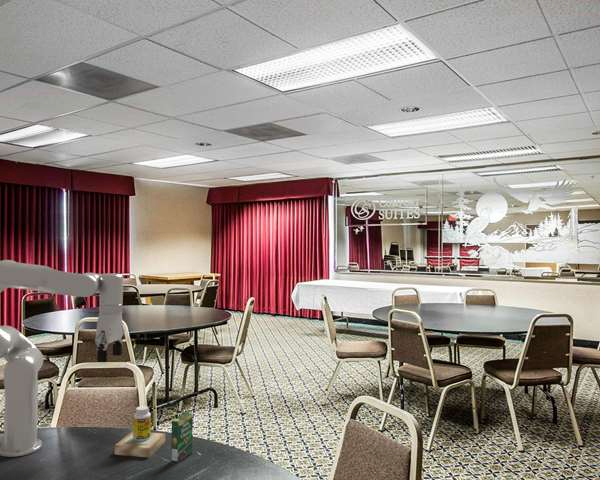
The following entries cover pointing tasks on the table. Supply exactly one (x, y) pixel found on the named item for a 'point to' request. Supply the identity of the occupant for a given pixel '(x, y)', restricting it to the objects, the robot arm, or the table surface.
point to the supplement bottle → (141, 424)
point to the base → (140, 445)
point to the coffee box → (181, 437)
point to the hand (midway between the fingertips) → (109, 358)
